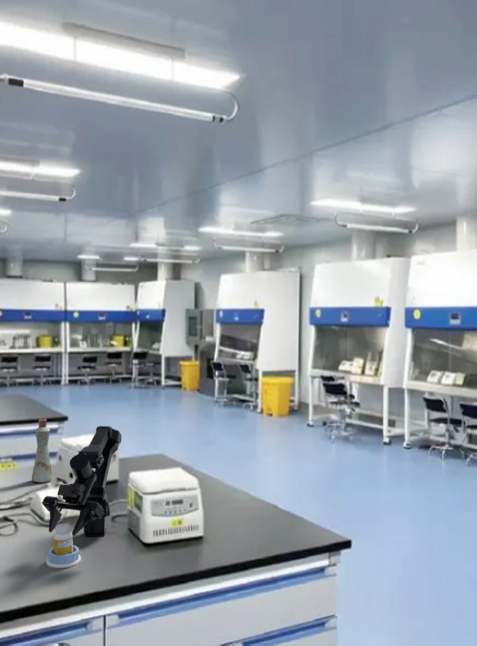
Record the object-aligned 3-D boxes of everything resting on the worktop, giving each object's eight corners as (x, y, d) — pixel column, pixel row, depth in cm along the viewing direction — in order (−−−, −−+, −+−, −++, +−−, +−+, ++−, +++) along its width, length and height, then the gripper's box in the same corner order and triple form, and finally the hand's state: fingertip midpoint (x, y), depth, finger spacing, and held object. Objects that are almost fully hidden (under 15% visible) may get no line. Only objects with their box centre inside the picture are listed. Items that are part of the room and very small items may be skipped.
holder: (82, 554, 188) (83, 543, 188) (78, 567, 178) (78, 556, 178) (49, 555, 187) (49, 544, 187) (43, 568, 177) (43, 557, 177)
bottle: (27, 483, 266) (28, 418, 266) (37, 477, 275) (38, 415, 275) (46, 484, 265) (46, 419, 264) (55, 478, 273) (56, 416, 273)
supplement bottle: (56, 554, 185) (55, 523, 185) (74, 553, 186) (73, 522, 185) (52, 562, 180) (51, 529, 179) (71, 561, 180) (70, 528, 180)
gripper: (45, 469, 189) (22, 516, 178) (99, 475, 183) (78, 524, 173) (60, 488, 196) (38, 534, 186) (112, 494, 191) (92, 542, 180)
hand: (61, 533), depth 181 cm, fingers open, 8 cm apart
